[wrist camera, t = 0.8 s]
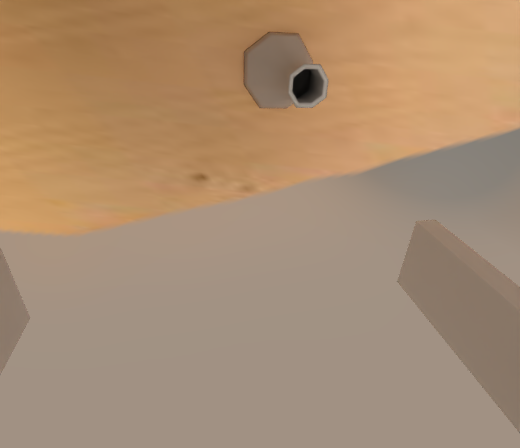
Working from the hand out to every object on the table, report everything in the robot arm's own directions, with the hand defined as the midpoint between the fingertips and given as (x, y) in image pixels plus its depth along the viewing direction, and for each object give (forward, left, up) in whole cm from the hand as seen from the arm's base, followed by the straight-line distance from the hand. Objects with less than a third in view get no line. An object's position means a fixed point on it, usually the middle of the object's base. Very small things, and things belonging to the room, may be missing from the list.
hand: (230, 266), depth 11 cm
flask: (-4, +8, -27) cm, 28 cm away
